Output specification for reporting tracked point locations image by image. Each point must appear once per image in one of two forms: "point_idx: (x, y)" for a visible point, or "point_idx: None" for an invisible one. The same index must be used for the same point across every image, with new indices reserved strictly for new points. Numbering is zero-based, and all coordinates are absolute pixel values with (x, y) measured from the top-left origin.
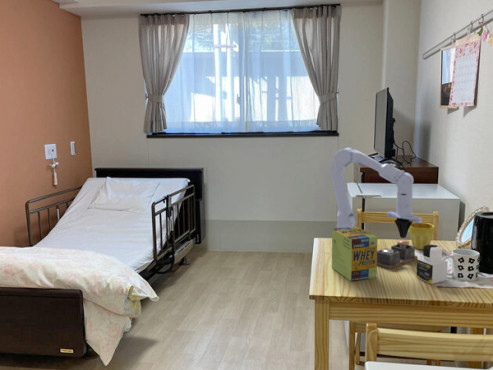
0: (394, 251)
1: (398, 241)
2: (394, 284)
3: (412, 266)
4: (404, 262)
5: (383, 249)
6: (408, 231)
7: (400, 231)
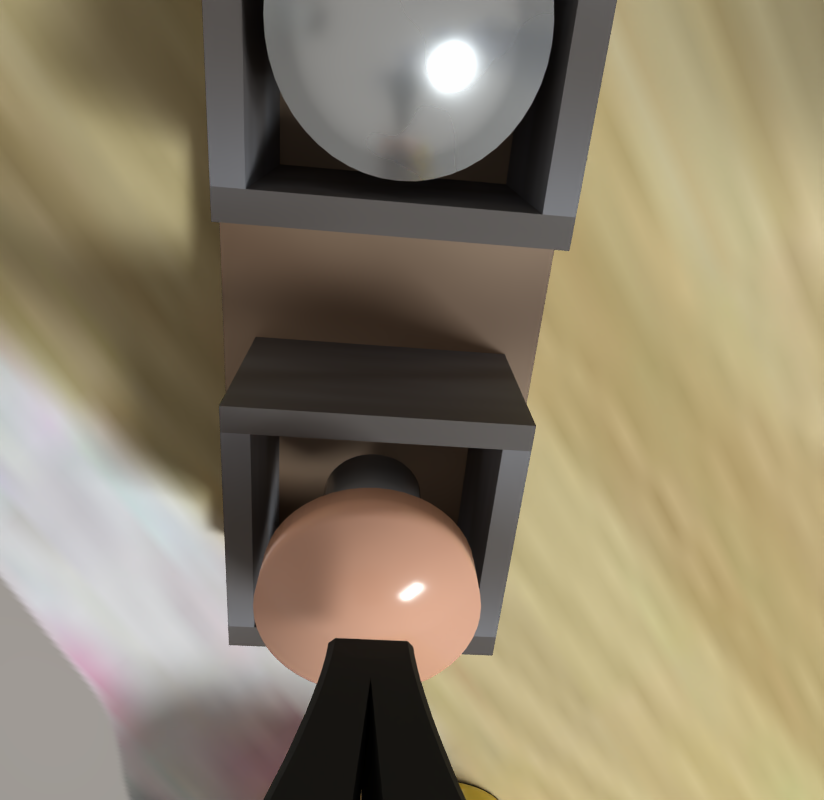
0: (326, 193)
1: (432, 551)
2: None
3: (79, 236)
4: (225, 266)
5: (533, 41)
6: None
7: (391, 768)
